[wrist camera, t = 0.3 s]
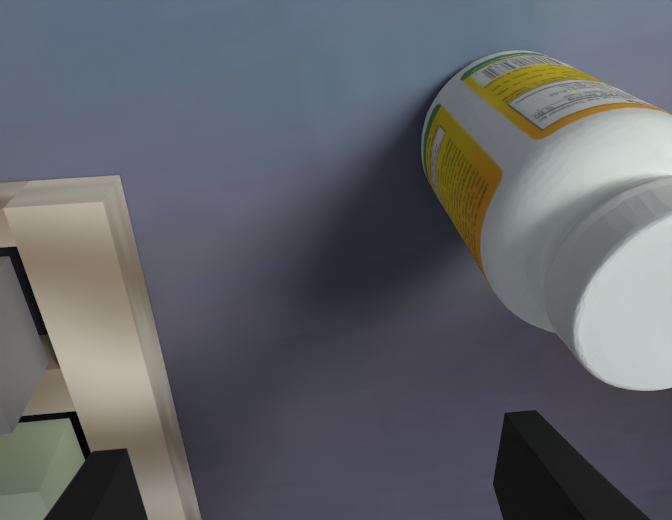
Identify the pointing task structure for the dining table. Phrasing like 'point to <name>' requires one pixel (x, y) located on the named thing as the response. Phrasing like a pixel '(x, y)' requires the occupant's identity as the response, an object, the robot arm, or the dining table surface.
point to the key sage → (36, 467)
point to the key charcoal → (16, 350)
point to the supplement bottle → (563, 206)
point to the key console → (99, 330)
